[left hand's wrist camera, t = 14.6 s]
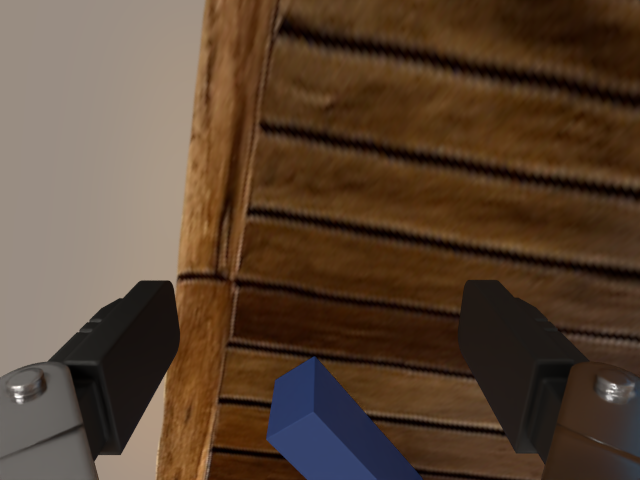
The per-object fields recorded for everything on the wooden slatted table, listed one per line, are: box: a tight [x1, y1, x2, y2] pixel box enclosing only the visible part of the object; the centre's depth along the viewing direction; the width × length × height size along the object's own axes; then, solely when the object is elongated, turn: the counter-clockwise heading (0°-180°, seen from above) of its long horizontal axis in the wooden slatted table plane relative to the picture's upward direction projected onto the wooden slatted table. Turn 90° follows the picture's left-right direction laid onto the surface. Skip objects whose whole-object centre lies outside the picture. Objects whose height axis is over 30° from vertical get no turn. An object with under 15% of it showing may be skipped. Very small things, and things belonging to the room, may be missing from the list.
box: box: [266, 356, 423, 480], centre depth 48 cm, size 25×6×9 cm, turn 36°
